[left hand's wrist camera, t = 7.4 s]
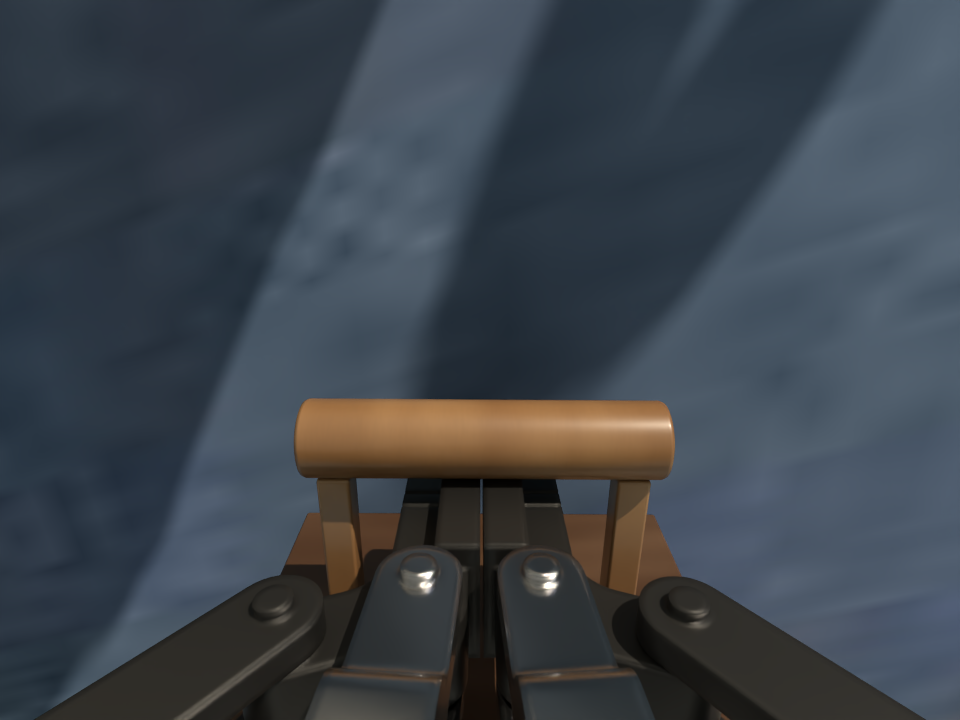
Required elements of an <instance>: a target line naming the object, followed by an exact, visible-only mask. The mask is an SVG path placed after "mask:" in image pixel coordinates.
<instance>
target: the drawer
mask: <svg viewBox="0 0 960 720" xmlns="http://www.w3.org/2000/svg"><path fill="white" fill-rule="evenodd" d="M674 452H675V436H674V428H673V422H672V419H671V415H670V412H669V410H668V408H667V406H666V405H665V404H664V403H662V402H660V401H616V400H464V399H312V398H310V399H308V400H305V401H304V402H303V403H302V405H301V407H300V409H299V412H298V415H297V419H296V424H295V431H294V455H295V461H296V466H297V469H298V471H299V473H300V475H301V476H303V477H306V478H318V479H317V490H318V499H319V508H320V513H308V514H307V516H306V518H305V521H304V523H303V525H302V527H301V530H300V532H299V534H298V536H297V539H296V541H295V543H294V545H293V548H292V550H291V552H290V554H289V557H288V559H287V561H286V563H285V566H284V568H283V570H282V572H281V575H297V576H303V577H305V578H308V579H310V580H312V581H314V582H315V583H316V584H317V585H318V586H319V588H320V589H321V591H322V594H323V597H324V596H328V595H332V594H336V593H340V592H344V591H348V590H351V589H355V588H357V587H360V586H362V585H364V584H366V583H368V582H370V581H372V580H373V577H374V575H375V572H376V570H377V567H378V566H379V564H380V563H381V562H382V561H383V560H384V559H385V558H386V557H387V556H388V555H390V554H391V553H392V551H393V546H394V542H395V537H396V532H397V528H398V523H399V518H400V514H401V513H359V508H358V496H357V484H356V478H423V479H592V480H611V481H610V490H609V500H608V509H607V515H606V514H563V516H564V520H565V525H566V529H567V534H568V538H569V543H570V547H571V552H572V556H573V557H574V558H575V559H576V560H577V561H578V562H579V563H580V564H581V566H582V567H583V569H584V572H585V574H586V576H587V577H589V578H590V579H591V580H593V581H595V582H596V583H598V584H600V585H602V586H605V587H607V588H610V589H613V590H617V591H621V592H625V593H629V594H633V595H637V596H640V593H641V591H642V589H643V588H644V586H645V585H647V584H648V583H649V582H651V581H653V580H655V579H658V578H661V577H667V576H679V577H682V576H681V574H680V572H679V569H678V567H677V565H676V563H675V561H674V558H673V556H672V554H671V552H670V550H669V547H668V545H667V543H666V541H665V539H664V536H663V534H662V532H661V530H660V528H659V525H658V523H657V521H656V519H655V517H654V515H647V508H648V500H649V493H650V486H651V483H650V481H649V480H662V479H664V478H666V477H668V475H669V474H670V472H671V469H672V465H673V460H674ZM242 714H243V711H240V712H239V713H238V714H236V715H235V716H234V717H233V718H231V719H230V720H235V719H237V718H238V717H239V716H240V715H242ZM721 717H722V718H723V719H725V720H730V719H729V718H727V717H726V716H725V715H724V714H722V713H721ZM462 720H498V718H497V709H496V658H484V641H483V514H480V658H468V681H467V685H466V688H465V690H464V709H463V718H462Z"/></svg>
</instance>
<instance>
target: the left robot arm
mask: <svg viewBox="0 0 960 720" xmlns="http://www.w3.org/2000/svg"><path fill="white" fill-rule="evenodd" d="M483 641H484V658H496V709H497V718H498V720H725V719H723V718H722V717H721V713H722V714H724V715H725V716H726V717H727V718H729V719H730V720H926V719H924V718H922V717H921V716H919V715H918V714H916V713H914V712H913V711H911V710H909V709H908V708H906V707H905V706H903V705H901V704H900V703H898V702H897V701H895V700H893V699H892V698H890V697H889V696H887V695H885V694H884V693H882V692H880V691H879V690H877V689H876V688H874V687H872V686H871V685H869V684H868V683H866V682H864V681H863V680H861V679H860V678H858V677H856V676H855V675H853V674H851V673H850V672H848V671H847V670H845V669H843V668H842V667H840V666H839V665H837V664H835V663H834V662H832V661H830V660H829V659H827V658H826V657H824V656H822V655H821V654H819V653H818V652H816V651H814V650H813V649H811V648H810V647H808V646H806V645H805V644H803V643H801V642H800V641H798V640H797V639H795V638H793V637H792V636H790V635H789V634H787V633H785V632H784V631H782V630H781V629H779V628H777V627H776V626H774V625H772V624H771V623H769V622H768V621H766V620H764V619H763V618H761V617H760V616H758V615H756V614H755V613H753V612H752V611H750V610H748V609H747V608H745V607H743V606H742V605H740V604H739V603H737V602H735V601H734V600H732V599H731V598H729V597H727V596H726V595H724V594H723V593H721V592H719V591H718V590H716V589H714V588H713V587H711V586H709V585H707V584H705V583H703V582H700V581H698V580H694V579H691V578H686V577H679V576H667V577H661V578H658V579H655V580H653V581H651V582H649V583H648V584H647V585H645V586H644V588H643V589H642V591H641V593H640V596H637V595H633V594H629V593H625V592H621V591H617V590H613V589H610V588H607V587H605V586H602V585H600V584H598V583H596V582H595V581H593V580H591V579H590V578H589V577H587V576H586V574H585V572H584V569H583V567H582V566H581V564H580V563H579V562H578V561H577V560H576V559H575V558H574V557H573V556H572V552H571V547H570V543H569V538H568V534H567V529H566V525H565V520H564V516H563V511H562V507H561V502H560V498H559V494H558V489H557V484H556V480H555V479H483ZM468 658H480V479H423V478H408V481H407V485H406V490H405V495H404V500H403V507H402V509H401V514H400V518H399V523H398V528H397V532H396V537H395V542H394V546H393V551H392V553H391V554H390V555H388V556H387V557H386V558H385V559H384V560H383V561H382V562H381V563H380V564H379V566H378V567H377V570H376V572H375V575H374V577H373V580H372V581H370V582H368V583H366V584H364V585H362V586H360V587H357V588H355V589H351V590H348V591H344V592H340V593H336V594H332V595H328V596H324V597H323V594H322V591H321V589H320V588H319V586H318V585H317V584H316V583H315V582H314V581H312V580H310V579H308V578H305V577H303V576H297V575H279V576H274V577H270V578H267V579H263V580H261V581H259V582H256V583H254V584H252V585H251V586H249V587H247V588H246V589H244V590H242V591H241V592H239V593H237V594H236V595H234V596H233V597H231V598H229V599H228V600H226V601H225V602H223V603H221V604H220V605H218V606H217V607H215V608H213V609H212V610H210V611H208V612H207V613H205V614H204V615H202V616H200V617H199V618H197V619H196V620H194V621H192V622H191V623H189V624H188V625H186V626H184V627H183V628H181V629H179V630H178V631H176V632H175V633H173V634H171V635H170V636H168V637H167V638H165V639H163V640H162V641H160V642H159V643H157V644H155V645H154V646H152V647H150V648H149V649H147V650H146V651H144V652H142V653H141V654H139V655H138V656H136V657H134V658H133V659H131V660H130V661H128V662H126V663H125V664H123V665H121V666H120V667H118V668H117V669H115V670H113V671H112V672H110V673H109V674H107V675H105V676H104V677H102V678H101V679H99V680H97V681H96V682H94V683H92V684H91V685H89V686H88V687H86V688H84V689H83V690H81V691H80V692H78V693H76V694H75V695H73V696H72V697H70V698H68V699H67V700H65V701H63V702H62V703H60V704H59V705H57V706H55V707H54V708H52V709H51V710H49V711H47V712H46V713H44V714H43V715H41V716H39V717H38V718H36V719H34V720H230V719H231V718H233V717H234V716H235V715H236V714H238V713H239V712H240V711H243V714H242V715H240V716H239V717H238V718H237V719H235V720H462V718H463V709H464V690H465V688H466V685H467V681H468Z"/></svg>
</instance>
